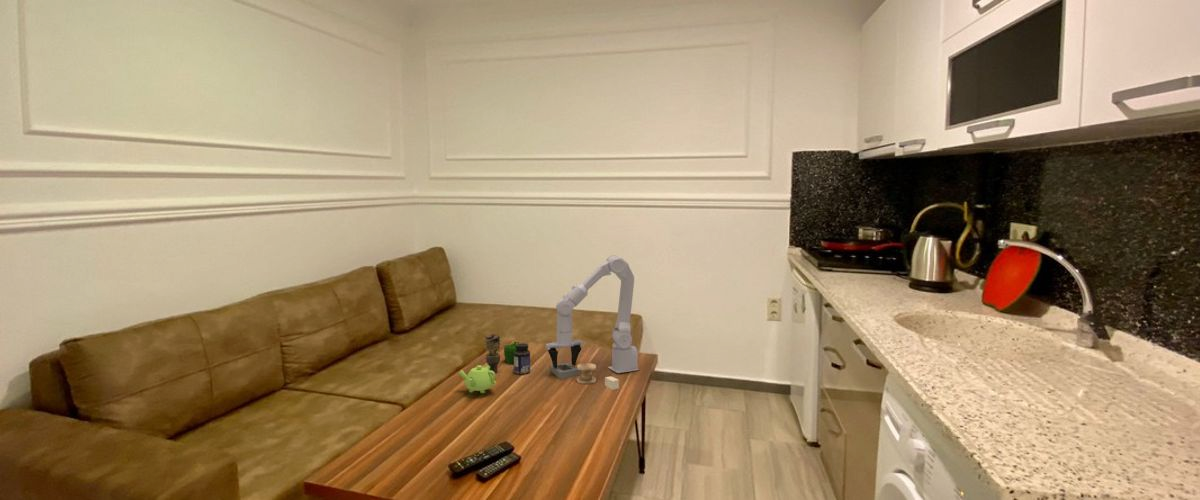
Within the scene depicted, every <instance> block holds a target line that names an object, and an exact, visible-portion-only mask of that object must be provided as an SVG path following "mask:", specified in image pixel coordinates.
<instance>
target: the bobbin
mask: <svg viewBox="0 0 1200 500" xmlns="http://www.w3.org/2000/svg"><path fill="white" fill-rule="evenodd" d="M576 368H577V369H578V370H579V371H580V375H579V376H577V378H576V382H577V383H578V384H582V385H591V384H595V383H596V382H597V378H596V377H595V376H593V371H595V370H596V369H597V365H596V364H595V363H590V362H584V363H583V362H582V363H578V364H576Z"/></svg>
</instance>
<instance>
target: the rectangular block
mask: <svg viewBox="0 0 1200 500" xmlns="http://www.w3.org/2000/svg"><path fill="white" fill-rule="evenodd" d="M604 387H606V388H607V389H610V390H612V391H615V390H619V389H620V380H619V379H618V378H616V377H614V376H605V377H604Z"/></svg>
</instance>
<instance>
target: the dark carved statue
mask: <svg viewBox="0 0 1200 500" xmlns="http://www.w3.org/2000/svg"><path fill="white" fill-rule="evenodd" d="M500 342H501V340H500V335H498V334H494V333H493V334H492V333H491V334H489V335H485V346H486V347H485V350H486V351H488V353H487V354H486V355H485V362H486V364H487V365H488V366H490V369H489V371H490V370H491V371H493V372H494V373H496V372H497V371H498V365H499V363H500V361H501V354H500V353H499V352H498V351H499V350H500V348H501V347H500V345H501V343H500Z"/></svg>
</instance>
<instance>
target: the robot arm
mask: <svg viewBox="0 0 1200 500" xmlns="http://www.w3.org/2000/svg"><path fill="white" fill-rule="evenodd" d="M629 265H630V264H629V263H628V262H627V261H626V260H625V259H624V258H622V257H620V256H618V255H614V254H612V255H610V256H608V257H607V258H606V260H603V261H602V262H601V263H600V264H599V265H598V266H597V267H596V269H594V270H593V272H591V273H590V275H589V276H588V277H587V278H586V279H585V280H584V281H583V282H582V283H577V284H576V285H572V286H571V290H570V291H568V292H567V293H566V295H565V294H564V295H563V296H562V298H561V299H559V300H558V301H557V303H556V306H555V308H556V310H557V315H556V316H557V318H556V341H553V342H550V343H545V350H547V352H548V354H549V356H550V360H551V363H552V365H553V367H554V368H557V364H558V354H559V351H558V350H557V349H561V348H562V349H563V348H570V353H571V361H570V362H571V365H573V366H574V367H576V366H577V360H578V357H579V355H580V353H581V351H582V347H583V346H584V345H583V344H584V341H583V340H582V339H573V318H572V317H573V316H572V315H573V311H574V308H575V307H577V306H579V304H580V303H581V302H582V301H583V300H584V299H585V298H586V297H587V296H588V291H589V289H590V288H592V287H593V286H594V285H595V284H596V283H598V281H600V279H601V278H603V277H605V276H611V275H612V273H613V274H615V276H617V278H618V279H619V280H620V289H619V298H618V308H617V318H616V322H615V324H614V325H615V326H614V329H613V330H612V332H611V339H612V340H613V341H614V342H613V344H612V347H611V348H612V351H611V352H612V353H611V354H612V359H611V360H612V361H611V364H612V365H611V366H607V368H608V370H611V371H613V372H615V373H616V374H620V373H621V374H622V373H630V372H634V371H639V367H638V365H639V364H638V363H639V359H638V358H639V355H638V349H637V347H636V346H635V345H632V343H633V337H632V334H631V333H632V332H631V331H632V327H631V315H632V314H631V313H632V307H633V306H632V305H633V296H634V287H635V286H634V285H635V275H634V274H633V271H632V269H631V268H630V266H629Z"/></svg>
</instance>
